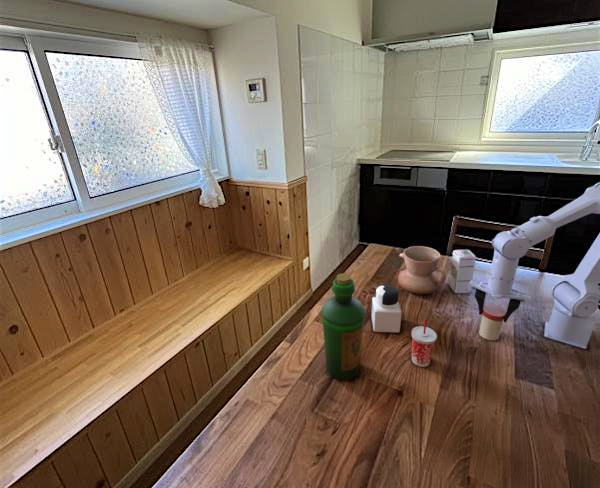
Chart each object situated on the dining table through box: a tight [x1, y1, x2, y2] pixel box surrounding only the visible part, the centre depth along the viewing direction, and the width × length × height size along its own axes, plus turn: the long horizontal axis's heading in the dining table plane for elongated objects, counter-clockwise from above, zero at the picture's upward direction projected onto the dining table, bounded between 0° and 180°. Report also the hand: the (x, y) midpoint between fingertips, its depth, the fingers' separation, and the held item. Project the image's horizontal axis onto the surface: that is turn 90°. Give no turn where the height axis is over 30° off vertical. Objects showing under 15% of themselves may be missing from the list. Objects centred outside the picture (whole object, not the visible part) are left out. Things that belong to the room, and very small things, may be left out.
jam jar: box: [478, 314, 504, 341], centre depth 97 cm, size 5×5×8 cm
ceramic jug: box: [397, 245, 447, 295], centre depth 119 cm, size 18×14×14 cm
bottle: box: [321, 273, 366, 381], centre depth 83 cm, size 11×11×28 cm
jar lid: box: [482, 304, 507, 321], centre depth 95 cm, size 6×6×2 cm
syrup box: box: [448, 249, 477, 294], centre depth 118 cm, size 6×6×14 cm
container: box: [371, 284, 403, 334], centre depth 102 cm, size 8×8×13 cm
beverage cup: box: [411, 316, 438, 368], centre depth 87 cm, size 6×6×14 cm
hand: (492, 316), depth 96 cm, fingers closed on jar lid, 5 cm apart
